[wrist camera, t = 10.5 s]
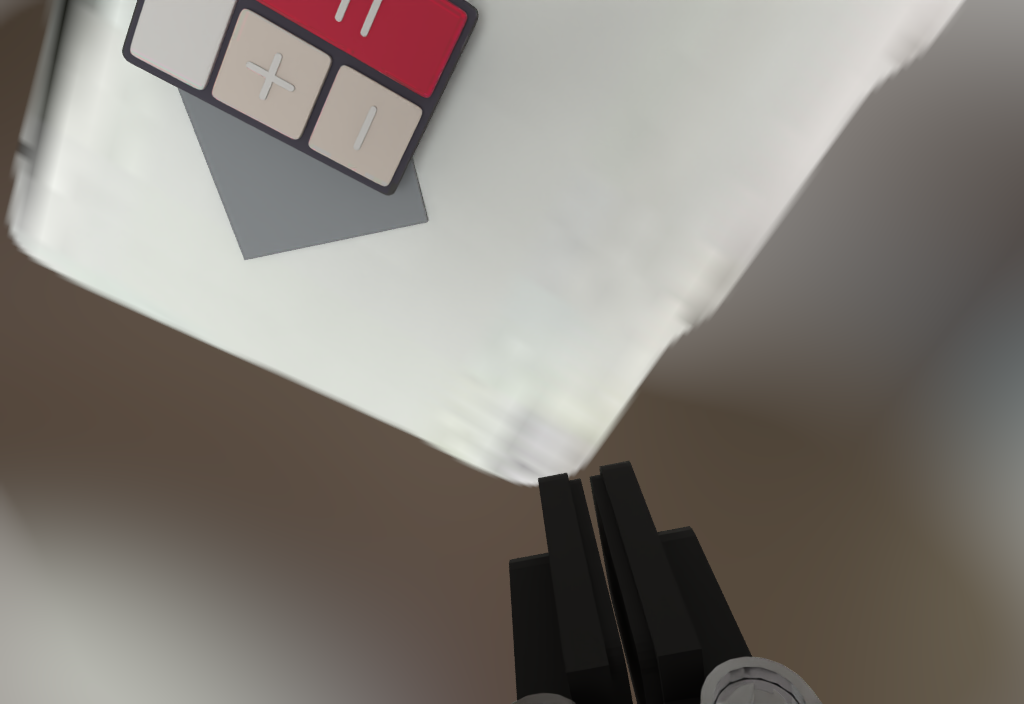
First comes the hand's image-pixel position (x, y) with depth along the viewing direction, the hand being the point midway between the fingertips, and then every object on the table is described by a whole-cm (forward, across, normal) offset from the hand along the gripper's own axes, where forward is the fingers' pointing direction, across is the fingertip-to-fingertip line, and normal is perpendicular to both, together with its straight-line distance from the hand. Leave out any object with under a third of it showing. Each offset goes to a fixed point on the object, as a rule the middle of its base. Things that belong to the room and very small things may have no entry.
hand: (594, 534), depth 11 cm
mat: (+31, +12, -6) cm, 34 cm away
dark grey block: (+29, +3, -6) cm, 30 cm away
